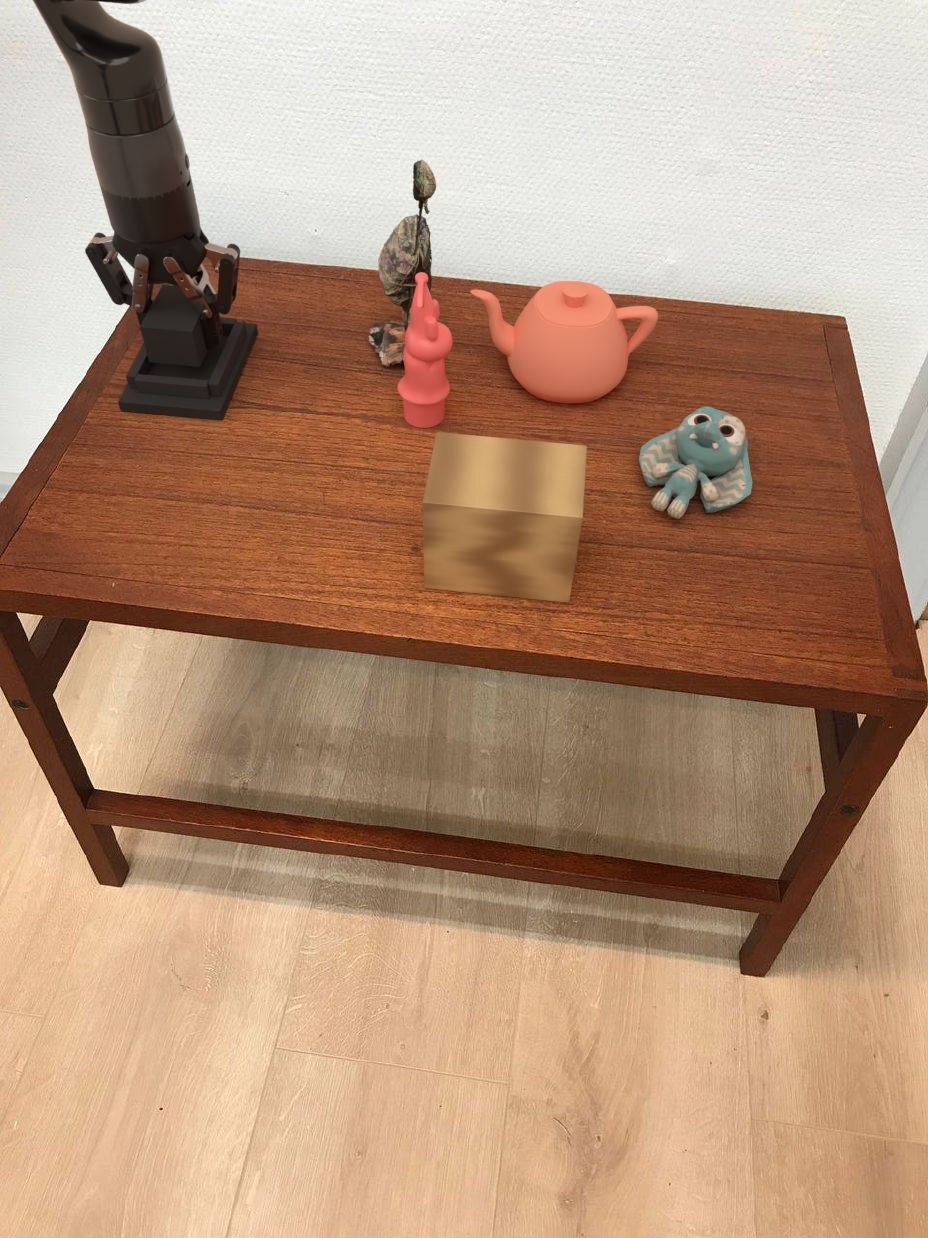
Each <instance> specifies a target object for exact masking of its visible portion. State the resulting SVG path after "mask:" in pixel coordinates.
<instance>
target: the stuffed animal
mask: <svg viewBox="0 0 928 1238" xmlns="http://www.w3.org/2000/svg"><path fill="white" fill-rule="evenodd" d="M746 434H747V432H746V427H745V425H744V423H743V421H742V420H741V419H739V418H738V417H736V416H734V415H733V414H731V413H729V412H727V411H724V410H721V409H716V408H715V407H712V406H702V407H699V408H697V409H696V410H694V411H693V412H692V413H690V414H687V416H686V417H684V419H683V420H682V422H681V423H680V424H679V426H678V427H675V428H673V429H671V430H669V431H667V432H665V433H663V434H661V435H658V436H655V437H653V438H651V439H649V440H648V441H647V442H646V443H644V444H643V445H642V446H641V447H640V452H639V455H638V462H639V466H640V469H641V473H642V476H643V480H644V482H645V483H646V485H647V486H648V487H649V488H650V487H651V488H652V487H655V486H663V487H662V488H661V489H660V490H658V491H657V492H656V494H655V495H654V496H653V498H652V500H651V501H650V503H651V507H652V508H653V509H654V510H656V511H659V512H662V513H663V512H664V511H665V510H666V508H667V507H668V508H667V510H666V511H667V515H669V516H670V517H672V518H673V519H677V520H680V519H681V518H682V517H683V516H684V514H685V512H686V511H687V510H688V508H689V504H690V503H689V502H690V500H691V499H693V497H694V496H695V495H696V493H697V488H698V483H699V482H700V493H699V497H700V500H701V501H702V504H703V507H704V511H705V513H707V514H708V513H716V512H719V511H722V510H726V509H729V508H732V507H733V506H735V505H737V504H738V503H740V502H742V501H743V500H745V499H746V498H747V497H749V496H750V495H751V493H752V490H753V489H752V488H753V479H752V472H751V467H750V458H749V452H748V446H749V445H748V442H749V441H748V438H747V435H746ZM709 478H711V479H709ZM672 497H673V498H674V499H673V500H672V502H671V499H672ZM670 502H671V503H670ZM669 503H670V504H669Z"/></svg>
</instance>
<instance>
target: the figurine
mask: <svg viewBox="0 0 928 1238" xmlns="http://www.w3.org/2000/svg"><path fill="white" fill-rule="evenodd" d="M415 281H416V283H417V286H416V289H415V293H414V297H413V301H412V306H411V321H410V324H409V326H408V328H407V331H406V335H405V347H404V352H403V359H404V360H403V359H402V360H403V364H404V375H403V376H402V378H401V379H400V380H399V381H398V383H397V392H398V394H399V396H400V397H401V398H402V405H403V406H402V407H403V419H404V421H405V422H406V423H407V424H408V425H411V426H412V427H415V428H420V429H430V428H433V427H436V426H438V425H440V424H441V423H442V422H443V420H444V419H445V415H446V414H445V413H446V412H445V411H446V409H445V406H446V405H445V403H446V402H445V401H446V399H447V397H448V396H449V394H450V391H451V385H450V382H449V380H448V378H447V377H446V362H445V357H447V356H449V354H450V352H451V350H452V347H453V343H454V342H453V341H454V340H453V335H452V332H451V330H450V329H449V328H448V326H447V325H445V324H444V323H442V322H439V321H438V319H439V317H440V311H441V310H440V303H439V301H438V300H437V299H435V298H432V295H431V291H430V292H429V289H428V286H427V284H426V283H427V282H428V275H427V274H426V273H423V272H420V273H417V274H416V276H415Z"/></svg>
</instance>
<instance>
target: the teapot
mask: <svg viewBox="0 0 928 1238" xmlns="http://www.w3.org/2000/svg"><path fill="white" fill-rule="evenodd" d="M470 294H471V295H472V296H473V297H475V298H476V299H478V300H479V301H481V302H482V303H483V305H484V307H485V309H486V311H487V316H488V325H489V326H488V327H489V332H490V337H491V341H492V342H493V344H494V346H495V348H496V349H498V350H499V352H500V353H502V354H503V355H505V356H507V362H508V366H509V369H510V372H511V374H512V375H513V377H514V378H515V379H516V381H517V382H518V383H519V384H520V385H521V387H522V388H523V389H525V391H527V392H528V393H529V394H530V395H532V396H534V397H536V398H538V399H541V400H542V401H547V402H552V403H558V404H559V403H560V404H583V403H584V404H585V403H590V402H593V401H596V400H599V399H601V398H602V397H604V396H605V395H607V394H609V393H610V392H612V391H613V390H614V389H615V388H616V387H617V386H618V385H619V384H620V383H621V381H622V380H623V378H624V377H625V375H626V373H627V369H628V363H629V356H630V354H631V353H632V352H634V351H635V350H636V349H637V347H639V346H640V345H641V344H642V343H643V342H645V340H646V339H647V338H648V337H649V336H650V334H651V333H652V332H653V330H654V329H655V327H656V326H657V323H658V319H659V313H658V311H657V309H656V308H655V307H652V306H648V305H632V306H625V307H616V305H615V303H614V301H613V299H612V297H611V296H610V295H609V294H608V292H607V290H605V289H604V288H602V287H601V286H598V285H596V284H594V283H591V282H588V281H587V282H586V281H580V280H579V281H578V280H560V281H554V282H550V283H548V284H546V285H544V286H542V287H541V288H540V289H538V290H537V292H536V293H535V294H533V296H532V297H531V299H530V300H529V301H528V302H527V304H526V305H525V307H524V308H523V309H522V311H521V313H520V314H519V315H518V318H517V319H516V321H515V323H514V326H513V325H511V324H509V323H508V322H506V321H505V320H504V317H503V315H502V307H501V303H500V301H499V299H498V298H497V297H496V295H494V294H493V293H491V292H489V291H486V290H483V289H477V288H476V289H471V290H470ZM630 319H631V320H632V319H637V320H638V319H639V320H640V323H639V325H638V327H637V329H636V331H635V332H634V333H633V335H632V336H631V337H630V339H629V340H628V336H627V332H626V327H625V326H624V323H623V320H630Z"/></svg>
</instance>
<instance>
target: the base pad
mask: <svg viewBox="0 0 928 1238" xmlns="http://www.w3.org/2000/svg"><path fill="white" fill-rule="evenodd" d="M220 319H221V324H222V329H223V334H222V337H221V339H220V341H219V344H218V345H217V344H216V346H215V348H214V350H210V349H208V351H207V353H206V356H205V358H204V360H203V362H202V364H201V366H200V367H195V366H184V365H172V364H161V363H150V362H149V359H148V355H147V352H146V348H145V345H144V342H143V343H142V345H141V346H140V348H139V349H138V352H137V354H136V356H135V358H134V360H133V361H132V363H131V365H130V367H129V369H128V371H127V373H126V375H125V379H126V381H127V383H126V385H125V387H124V389H123V391H122V393H121V395H120V397H119V399H118V401H117V403H118V406H119V409H120V411H121V412H125V413H126V412H128V413H136V414H137V413H138V414H147V415H148V414H149V415H160V416H171V417H181V418H191V419H192V418H193V419H203V420H204V419H205V420H215V421H223V420H224V418H225V416H226V413H227V410H228V407H229V405H230V402H231V401H232V398H233V395H234V393H235V390H236V389H237V386H238V383H239V381H240V378H241V376H242V374H243V371H244V369H245V366H246V364H247V361H248V360H249V357H250V354H251V352H252V350H253V348H254V345H255V343H256V339H257V337H258V335H259V329H258V324H257V323H253V322H252V323H251V322H245V321H237V318H233V317H221V316H220Z"/></svg>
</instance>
